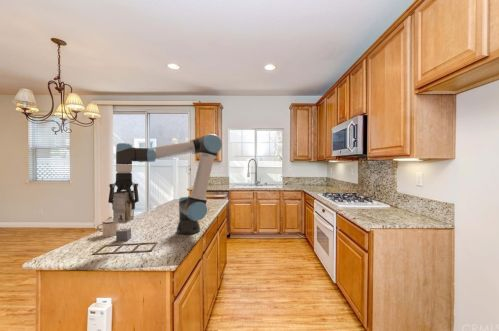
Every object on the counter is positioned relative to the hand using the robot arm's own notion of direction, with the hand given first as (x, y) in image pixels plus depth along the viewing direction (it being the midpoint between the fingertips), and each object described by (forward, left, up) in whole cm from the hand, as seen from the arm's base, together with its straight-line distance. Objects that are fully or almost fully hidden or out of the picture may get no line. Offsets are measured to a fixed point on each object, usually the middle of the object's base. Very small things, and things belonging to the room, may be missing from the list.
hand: (123, 215), depth 123 cm
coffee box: (0, 0, -3) cm, 3 cm away
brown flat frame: (-1, 0, -18) cm, 18 cm away
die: (+6, -16, -18) cm, 24 cm away
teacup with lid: (+20, -28, -18) cm, 39 cm away
